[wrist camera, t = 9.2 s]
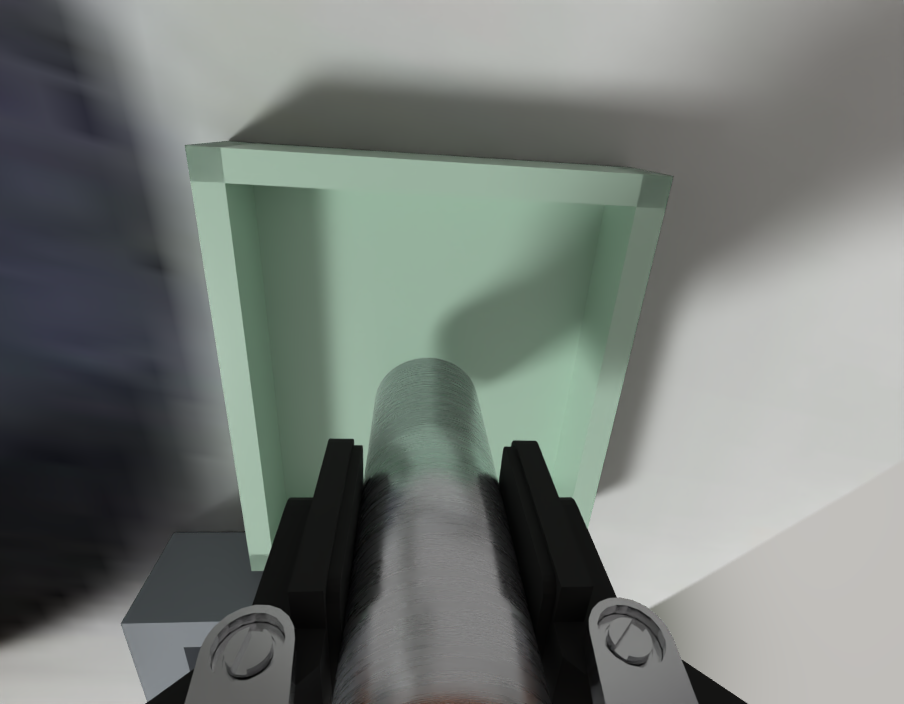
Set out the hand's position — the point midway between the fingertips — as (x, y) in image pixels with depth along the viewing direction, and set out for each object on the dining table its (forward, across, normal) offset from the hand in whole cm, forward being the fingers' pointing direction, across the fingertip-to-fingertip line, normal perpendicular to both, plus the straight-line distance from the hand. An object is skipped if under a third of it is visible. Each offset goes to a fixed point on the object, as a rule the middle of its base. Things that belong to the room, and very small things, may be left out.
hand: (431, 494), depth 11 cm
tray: (+7, 0, 0) cm, 7 cm away
